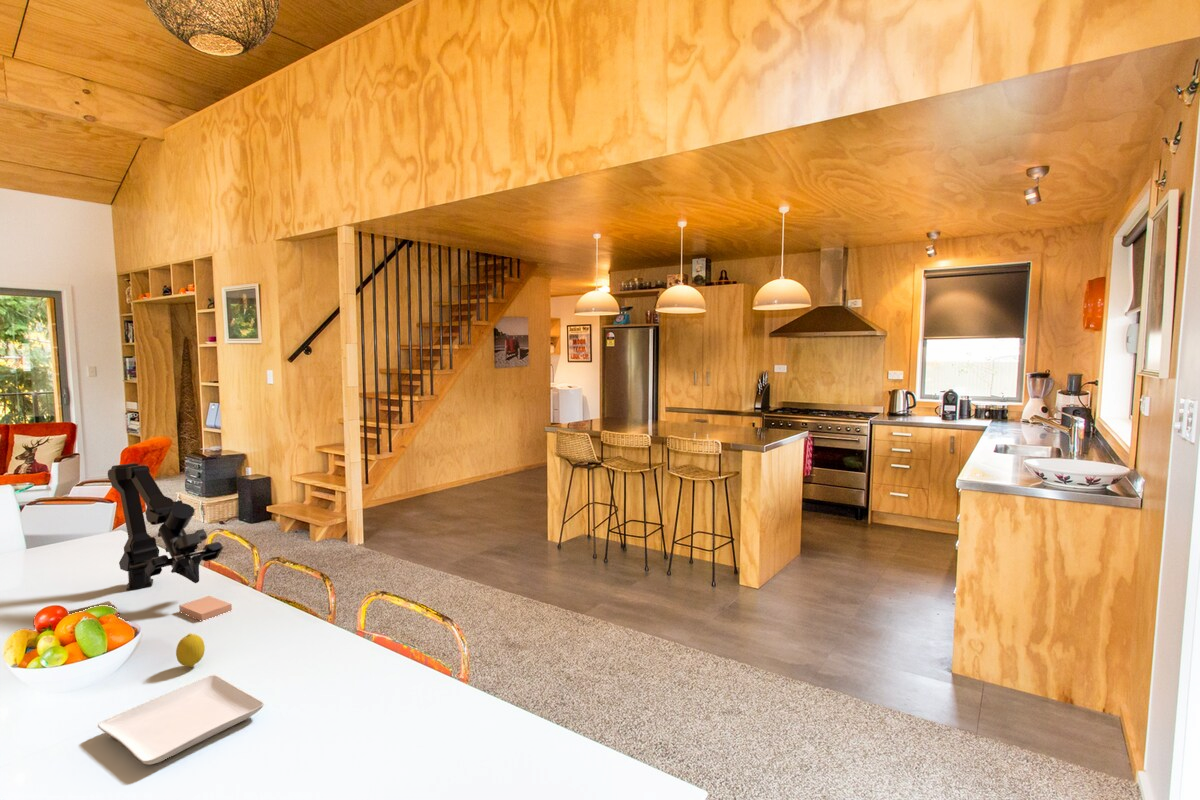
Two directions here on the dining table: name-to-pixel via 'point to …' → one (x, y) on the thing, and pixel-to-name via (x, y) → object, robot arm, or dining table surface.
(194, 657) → the lemon
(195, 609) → the tile
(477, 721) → the dining table surface
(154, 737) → the salad plate
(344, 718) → the dining table surface
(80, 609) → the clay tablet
